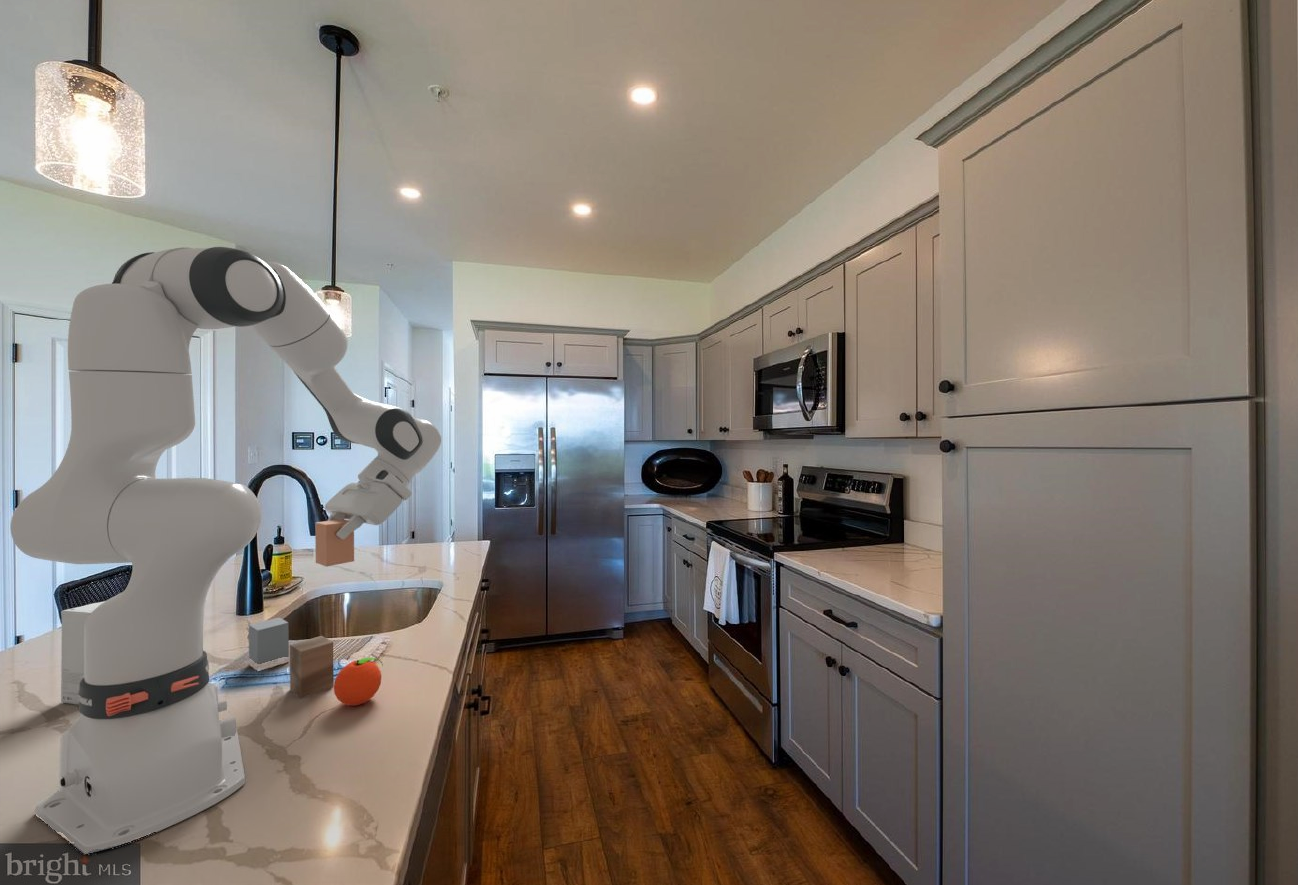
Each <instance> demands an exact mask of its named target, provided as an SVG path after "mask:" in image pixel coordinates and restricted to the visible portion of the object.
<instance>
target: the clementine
mask: <svg viewBox="0 0 1298 885" xmlns="http://www.w3.org/2000/svg"><path fill="white" fill-rule="evenodd" d="M372 660H377V661H379V662H380V663H381V665H382V666H384V665H383V662H382V660H381V659H378V658H375V657H366V658H365V657H364V658H361V659H356V660H353V661H351V662H349V663H348V664H346V665H345V666H344V667H342V668H341V670H340V671H339V672H338V673H337V675H336V678H335V680H334V687H333V692H334V693H333V694H334V695H335V697H336V699H337V701H339V702H340V703H341V704H343V705H347V706H353V707H355V706H359V705H362V704H364V703H367V702H368V701H369V700H371V699H372V698H373V697H374V696H375V695H376V693H377V692H378V691H379V688H380V686H381V684H382V671H381V669H380V667H378V665H377V664H376V663H375V662H373V661H372Z"/></svg>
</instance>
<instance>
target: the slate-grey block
mask: <svg viewBox="0 0 1298 885" xmlns="http://www.w3.org/2000/svg"><path fill="white" fill-rule="evenodd" d="M289 632H290V631H289V622H288V621H287V620H285V619H283V618H281V617H276V618H271V619H268V620H263V621H260V622H259V621H258V622H255V623H252V624H251V623H250V624H249V625H248V659H249V658H250V659H252V660H253V661H254V662H255V663H257V664H262V663H265V662H268V661H272V660H275V659H278V658H282V657H289V658H290V644H289V635H290V634H289Z"/></svg>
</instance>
